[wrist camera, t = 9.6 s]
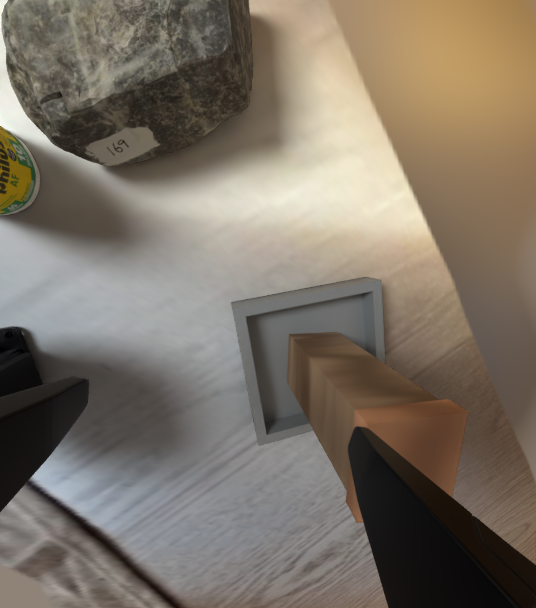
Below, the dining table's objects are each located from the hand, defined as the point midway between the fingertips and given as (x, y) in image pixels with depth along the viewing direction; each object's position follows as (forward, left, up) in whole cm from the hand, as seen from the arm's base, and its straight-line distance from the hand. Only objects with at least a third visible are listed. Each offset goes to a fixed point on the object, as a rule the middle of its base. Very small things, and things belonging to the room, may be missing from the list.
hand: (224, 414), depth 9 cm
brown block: (+7, -5, -12) cm, 15 cm away
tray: (+7, -5, -13) cm, 16 cm away
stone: (0, +16, -13) cm, 21 cm away
